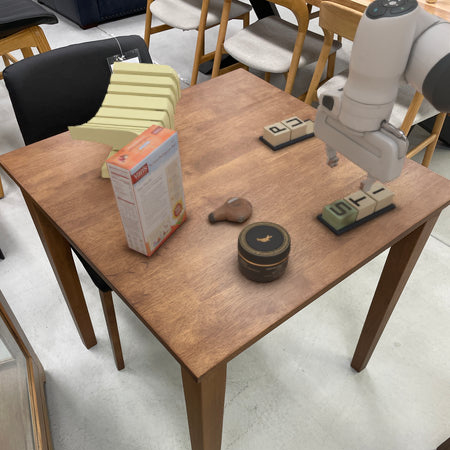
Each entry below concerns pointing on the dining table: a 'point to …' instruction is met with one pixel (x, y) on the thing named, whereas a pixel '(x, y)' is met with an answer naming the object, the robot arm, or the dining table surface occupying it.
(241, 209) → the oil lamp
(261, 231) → the jar
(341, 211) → the s tile
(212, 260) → the dining table surface
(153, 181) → the cracker box
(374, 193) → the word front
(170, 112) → the slatted curved stool
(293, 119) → the word back
